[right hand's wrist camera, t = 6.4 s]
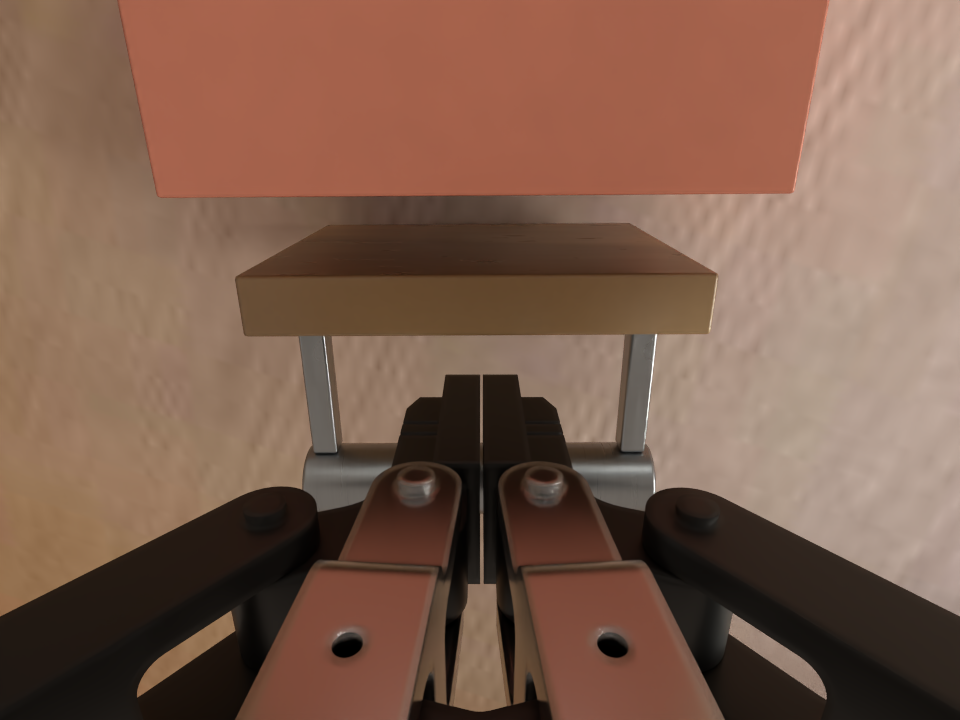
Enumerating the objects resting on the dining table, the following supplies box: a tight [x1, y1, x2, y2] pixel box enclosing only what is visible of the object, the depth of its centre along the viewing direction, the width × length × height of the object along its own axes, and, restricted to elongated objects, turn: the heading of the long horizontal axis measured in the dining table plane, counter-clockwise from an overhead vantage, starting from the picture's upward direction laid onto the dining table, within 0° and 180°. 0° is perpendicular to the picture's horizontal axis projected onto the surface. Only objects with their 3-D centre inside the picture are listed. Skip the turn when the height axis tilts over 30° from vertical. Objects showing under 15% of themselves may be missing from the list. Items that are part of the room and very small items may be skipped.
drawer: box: [235, 223, 718, 514], centre depth 12 cm, size 20×9×7 cm, turn 0°
